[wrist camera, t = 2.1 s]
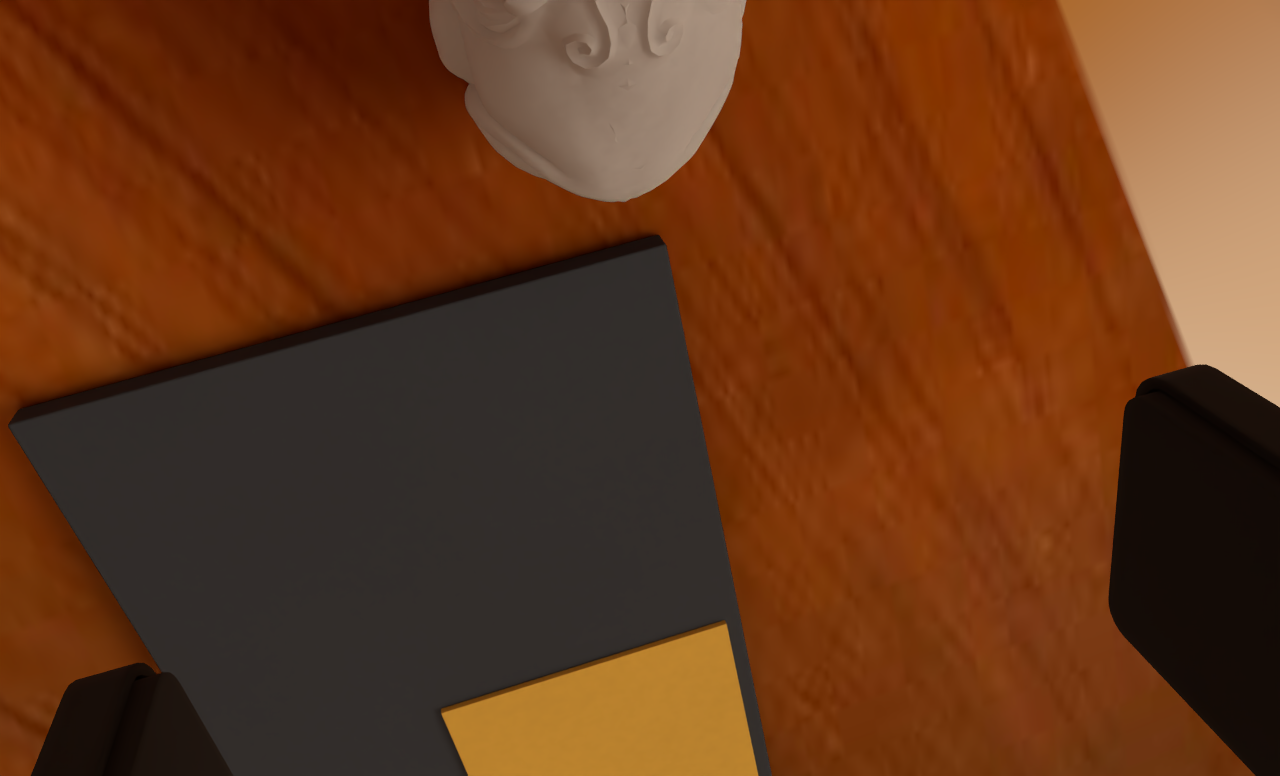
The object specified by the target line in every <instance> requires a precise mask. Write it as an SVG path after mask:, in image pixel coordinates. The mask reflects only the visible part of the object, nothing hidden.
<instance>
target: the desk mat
mask: <svg viewBox="0 0 1280 776" xmlns="http://www.w3.org/2000/svg"><path fill="white" fill-rule="evenodd" d="M8 427H9V429H10V430H11V432H12V433H13V435H14V437H15V438H16V440H17V441H18V443H19V445H20V446H21V448H22V449H23V451H24V453H25V454H26V456H27V457H28V459H29V461H30V462H31V464H32V465H33V467H34V469H35V470H36V472H37V473H38V475H39V477H40V478H41V480H42V481H43V483H44V485H45V486H46V488H47V489H48V491H49V493H50V494H51V496H52V497H53V499H54V501H55V502H56V504H57V505H58V507H59V509H60V510H61V512H62V513H63V515H64V517H65V518H66V520H67V521H68V523H69V525H70V526H71V528H72V529H73V531H74V533H75V534H76V536H77V537H78V539H79V541H80V542H81V544H82V545H83V547H84V549H85V550H86V552H87V553H88V555H89V557H90V558H91V560H92V561H93V563H94V565H95V566H96V568H97V569H98V571H99V573H100V574H101V576H102V577H103V579H104V581H105V582H106V584H107V585H108V587H109V589H110V590H111V592H112V593H113V595H114V597H115V598H116V600H117V601H118V603H119V605H120V606H121V608H122V609H123V611H124V613H125V614H126V616H127V617H128V619H129V621H130V622H131V624H132V625H133V627H134V629H135V630H136V632H137V633H138V635H139V637H140V638H141V640H142V641H143V643H144V645H145V646H146V648H147V649H148V651H149V653H150V654H151V656H152V657H153V659H154V661H155V662H156V664H157V665H158V667H159V669H160V670H161V672H162V673H163V672H170V673H172V674H173V675H175V677H176V678H177V679H178V681H179V682H180V684H181V686H182V687H183V689H184V691H185V693H186V694H187V696H188V698H189V699H190V701H191V703H192V705H193V706H194V708H195V710H196V712H197V713H198V715H199V717H200V718H201V720H202V722H203V724H204V725H205V727H206V729H207V731H208V732H209V734H210V736H211V737H212V739H213V741H214V743H215V744H216V746H217V748H218V750H219V751H220V753H221V755H222V756H223V758H224V760H225V762H226V763H227V765H228V767H229V769H230V770H231V772H232V774H233V775H234V776H772V775H771V769H770V764H769V759H768V754H767V749H766V744H765V739H764V734H763V729H762V724H761V719H760V714H759V709H758V704H757V699H756V694H755V689H754V684H753V679H752V674H751V669H750V664H749V659H748V654H747V649H746V644H745V639H744V634H743V629H742V624H741V619H740V614H739V609H738V603H737V598H736V593H735V588H734V583H733V578H732V573H731V568H730V563H729V558H728V553H727V548H726V543H725V538H724V533H723V528H722V523H721V518H720V513H719V508H718V503H717V498H716V493H715V488H714V483H713V478H712V473H711V468H710V463H709V458H708V453H707V448H706V443H705V438H704V432H703V427H702V422H701V417H700V412H699V407H698V402H697V397H696V392H695V387H694V382H693V377H692V372H691V367H690V362H689V357H688V352H687V347H686V342H685V337H684V332H683V327H682V322H681V317H680V312H679V307H678V302H677V297H676V292H675V287H674V282H673V277H672V272H671V267H670V261H669V256H668V251H667V246H666V244H665V243H664V242H663V240H662V239H661V237H660V236H659V235H655V236H652V237H648V238H644V239H641V240H637V241H633V242H630V243H626V244H622V245H619V246H615V247H611V248H608V249H604V250H601V251H597V252H593V253H590V254H586V255H582V256H579V257H575V258H571V259H568V260H564V261H560V262H557V263H553V264H549V265H546V266H542V267H538V268H535V269H531V270H527V271H524V272H520V273H516V274H513V275H509V276H505V277H502V278H498V279H494V280H491V281H487V282H483V283H480V284H476V285H473V286H469V287H465V288H462V289H458V290H454V291H451V292H447V293H443V294H440V295H436V296H432V297H429V298H425V299H421V300H418V301H414V302H410V303H407V304H403V305H399V306H396V307H392V308H388V309H385V310H381V311H377V312H374V313H370V314H366V315H363V316H359V317H355V318H352V319H348V320H345V321H341V322H337V323H334V324H330V325H326V326H323V327H319V328H315V329H312V330H308V331H304V332H301V333H297V334H293V335H290V336H286V337H282V338H279V339H275V340H271V341H268V342H264V343H260V344H257V345H253V346H249V347H246V348H242V349H238V350H235V351H231V352H227V353H224V354H220V355H217V356H213V357H209V358H206V359H202V360H198V361H195V362H191V363H187V364H184V365H180V366H176V367H173V368H169V369H165V370H162V371H158V372H154V373H151V374H147V375H143V376H140V377H136V378H132V379H129V380H125V381H121V382H118V383H114V384H110V385H107V386H103V387H99V388H96V389H92V390H89V391H85V392H81V393H78V394H74V395H70V396H67V397H63V398H59V399H56V400H52V401H48V402H45V403H41V404H37V405H34V406H30V407H26V408H23V409H19V410H18V411H17V413H16V414H15V415H14V417H13V418H12V420H11V421H10V423H9V424H8Z"/></svg>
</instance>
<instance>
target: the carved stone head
mask: <svg viewBox="0 0 1280 776" xmlns="http://www.w3.org/2000/svg"><path fill="white" fill-rule="evenodd" d="M745 4H746V0H429V15H430V24H431V29H432V34H433V38H434V41H435V44H436V47H437V50H438V53H439V56H440V59H441V61H442V62H443V64H444V66H445V67H446V68H447V69H448V70H449V71H450V72H452V73H453V74H454V75H456V76H457V77H460V78H462V79H464V80H465V81H466V82H468V83H469V85H468V87H467V90H466V92H465V105H466V109H467V110H468V112H469V114H470V116H471V117H472V118H473V120H474V121H475V123H476V124H477V126H478V127H479V129H480V130H481V132H482V133H483V135H484V136H485V137H486V139H487V140H488V142H489V143H490V144H491V145H492V147H493V148H494V149H495V150H496V151H497V152H498V153H499V154H500V155H502V156H503V157H504V158H506V159H507V160H508V161H509V162H511V163H512V164H513V165H514V166H516V167H517V168H520V169H522V170H524V171H526V172H528V173H530V174H532V175H534V176H537V177H540V178H544V179H547V180H548V181H550V182H552V183H554V184H556V185H558V186H560V187H562V188H563V189H565V190H567V191H569V192H572V193H574V194H577V195H579V196H582V197H586V198H591V199H595V200H600V201H605V202H616V201H621V202H626V201H627V200H629V199H630V198H637V197H639V196H640V195H642V194H644V193H647V192H649V191H651V190H652V189H654V188H655V187H657V186H659V185H660V184H662V183H663V182H665V181H666V180H667V179H669V178H670V177H671V176H672V175H673V174H674V173H675V172H676V171H677V170H678V169H680V168H681V167H682V166H683V165H684V164H685V163H686V162H687V161H688V160H689V159H690V158H691V157H692V156H693V155H694V153H695V152H696V151H697V149H698V148H699V146H700V144H701V143H702V141H703V140H704V138H705V136H706V135H707V133H708V131H709V130H710V128H711V126H712V125H713V123H714V121H715V119H716V118H717V116H718V114H719V112H720V111H721V108H722V106H723V104H724V102H725V100H726V98H727V96H728V94H729V91H730V89H731V86H732V83H733V79H734V73H735V69H736V65H737V61H738V58H739V56H740V47H741V37H742V25H743V24H742V16H743V14H744V9H745Z"/></svg>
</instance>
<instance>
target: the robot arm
mask: <svg viewBox="0 0 1280 776" xmlns="http://www.w3.org/2000/svg"><path fill="white" fill-rule="evenodd" d="M1109 608H1110V612H1111V615H1112V617H1113V620H1114V622H1115V624H1116V626H1117V627H1118V629H1119V631H1120V632H1121V633H1122V634H1123V636H1124V637H1125V638H1126V639H1127V640H1128V641H1129V642H1130V643H1131V644H1132V645H1133V646H1134V647H1135V649H1136V650H1137V651H1138V652H1139V653H1140V654H1141V655H1142V656H1143V657H1144V658H1145V659H1146V660H1147V661H1148V662H1149V663H1150V664H1151V665H1152V667H1153V668H1154V669H1155V670H1156V671H1157V672H1158V673H1159V674H1160V675H1161V676H1162V677H1163V678H1164V679H1165V680H1166V681H1167V682H1168V683H1169V684H1170V686H1171V687H1172V688H1173V689H1174V690H1175V691H1176V692H1177V693H1178V694H1179V695H1180V696H1181V697H1182V698H1183V699H1184V700H1185V701H1186V702H1187V704H1188V705H1189V706H1190V707H1191V708H1192V709H1193V710H1194V711H1195V712H1196V713H1197V714H1198V715H1199V716H1200V717H1201V718H1202V719H1203V720H1204V722H1205V723H1206V724H1207V725H1208V726H1209V727H1210V728H1211V729H1212V730H1213V731H1214V732H1215V733H1216V734H1217V735H1218V736H1219V737H1220V738H1221V739H1222V741H1223V742H1224V743H1225V744H1226V745H1227V746H1228V747H1229V748H1230V749H1231V750H1232V751H1233V752H1234V753H1235V754H1236V755H1237V756H1238V757H1239V759H1240V760H1241V761H1242V762H1243V763H1244V764H1245V765H1246V766H1247V767H1248V768H1249V769H1250V770H1251V771H1252V772H1253V773H1254V774H1255V775H1256V776H1280V408H1279V407H1278V406H1276V405H1275V404H1273V403H1271V402H1270V401H1268V400H1267V399H1265V398H1263V397H1262V396H1260V395H1258V394H1257V393H1255V392H1253V391H1252V390H1250V389H1249V388H1247V387H1245V386H1244V385H1242V384H1240V383H1239V382H1237V381H1236V380H1234V379H1232V378H1231V377H1229V376H1227V375H1226V374H1224V373H1222V372H1221V371H1219V370H1218V369H1216V368H1213V367H1211V366H1208V365H1195V366H1191V367H1187V368H1184V369H1180V370H1177V371H1173V372H1170V373H1166V374H1163V375H1159V376H1155V377H1152V378H1149V379H1147V380H1145V381H1143V382H1142V383H1141V384H1140V386H1139V387H1138V389H1137V392H1136V396H1135V398H1133V399H1131V400H1129V401H1128V403H1127V404H1126V406H1125V411H1124V419H1123V431H1122V443H1121V455H1120V466H1119V478H1118V490H1117V502H1116V514H1115V526H1114V538H1113V550H1112V562H1111V574H1110V586H1109ZM31 776H234V775H233V774H232V772H231V770H230V769H229V767H228V765H227V763H226V762H225V760H224V758H223V756H222V755H221V753H220V751H219V750H218V748H217V746H216V744H215V743H214V741H213V739H212V737H211V736H210V734H209V732H208V731H207V729H206V727H205V725H204V724H203V722H202V720H201V718H200V717H199V715H198V713H197V712H196V710H195V708H194V706H193V705H192V703H191V701H190V699H189V698H188V696H187V694H186V693H185V691H184V689H183V687H182V686H181V684H180V682H179V681H178V679H177V678H176V677H175V675H173V674H172V673H170V672H163V673H160V674H156V673H155V672H154V671H153V669H152V668H151V667H149V666H148V665H146V664H145V663H135V664H132V665H128V666H125V667H121V668H117V669H114V670H110V671H107V672H103V673H100V674H96V675H93V676H89V677H85V678H82V679H78V680H76V681H74V682H73V683H71V684H70V685H69V686H68V688H67V689H66V691H65V693H64V694H63V697H62V699H61V702H60V704H59V707H58V709H57V712H56V714H55V717H54V719H53V722H52V724H51V727H50V729H49V732H48V734H47V737H46V739H45V742H44V744H43V747H42V749H41V752H40V754H39V757H38V759H37V762H36V764H35V767H34V769H33V772H32V774H31Z"/></svg>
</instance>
